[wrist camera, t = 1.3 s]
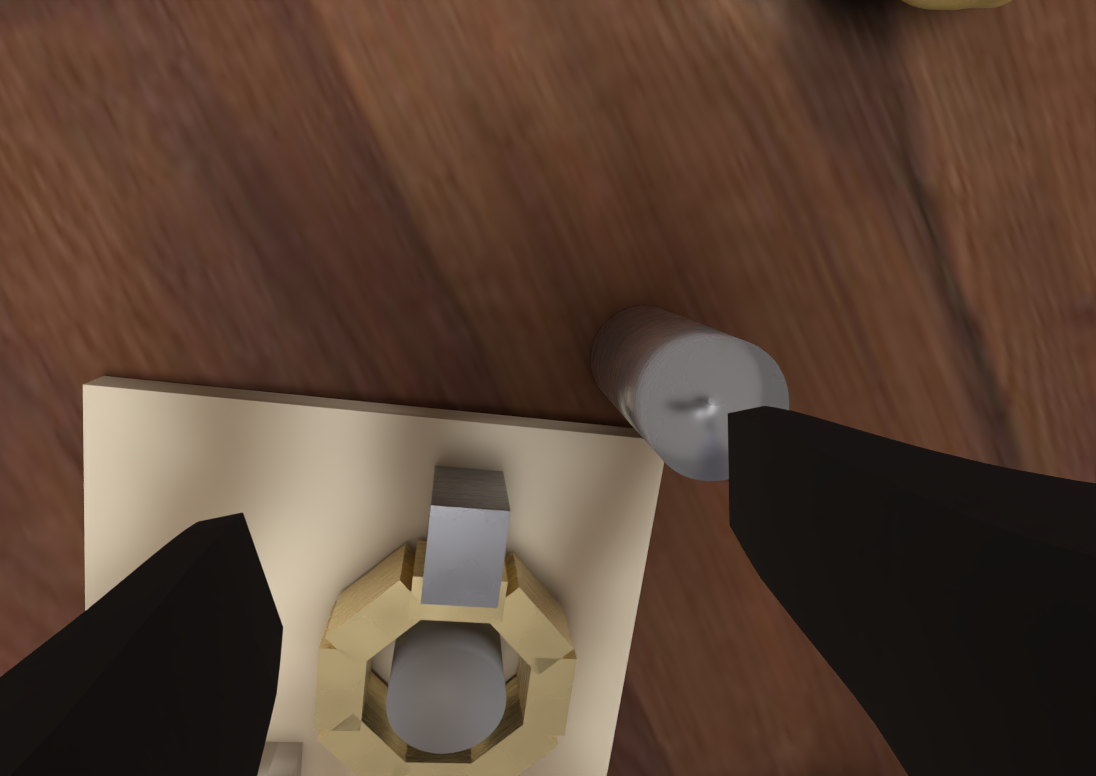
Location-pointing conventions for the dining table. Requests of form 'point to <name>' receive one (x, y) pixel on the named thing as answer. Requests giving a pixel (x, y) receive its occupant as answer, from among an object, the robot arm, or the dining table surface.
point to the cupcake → (955, 4)
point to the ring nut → (447, 595)
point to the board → (380, 541)
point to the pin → (682, 384)
